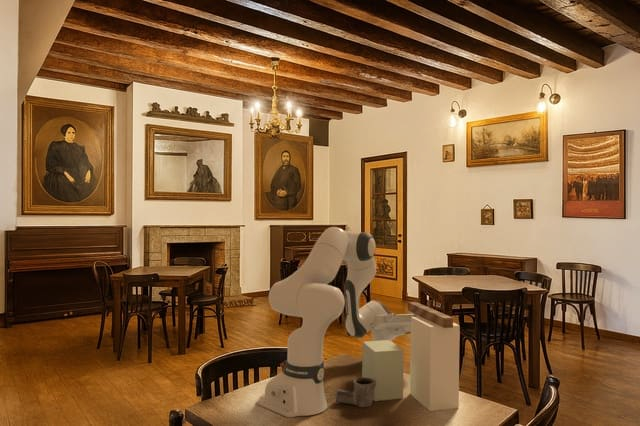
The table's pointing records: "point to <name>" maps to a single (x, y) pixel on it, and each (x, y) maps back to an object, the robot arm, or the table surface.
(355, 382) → the pipe
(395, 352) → the low stool
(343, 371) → the table surface
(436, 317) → the walnut bar
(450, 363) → the tall stand
